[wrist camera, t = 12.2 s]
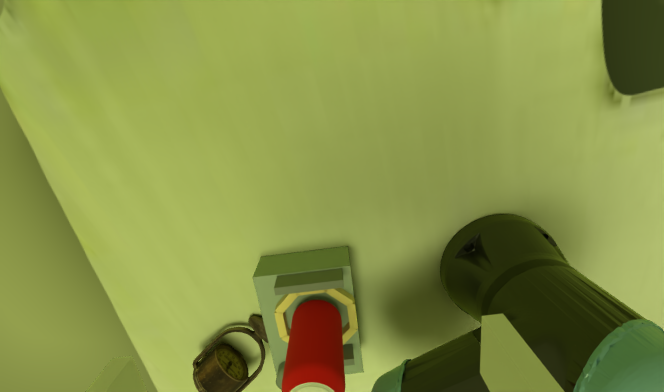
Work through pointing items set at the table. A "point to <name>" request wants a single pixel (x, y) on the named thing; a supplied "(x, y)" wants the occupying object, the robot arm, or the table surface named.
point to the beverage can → (315, 349)
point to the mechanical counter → (228, 362)
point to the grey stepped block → (306, 298)
